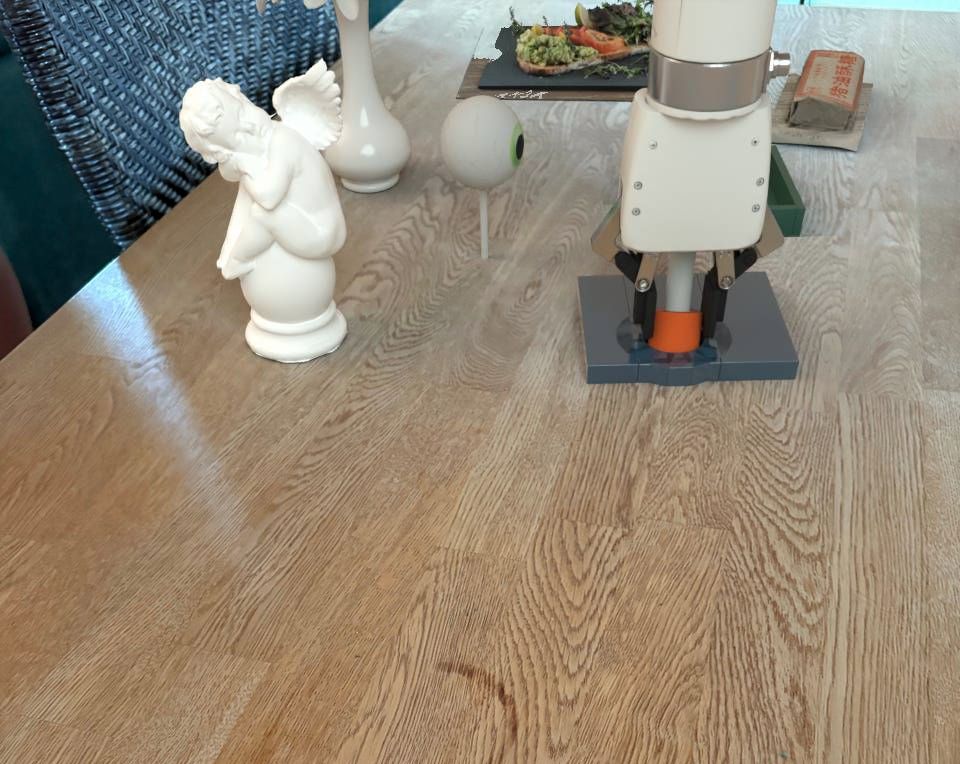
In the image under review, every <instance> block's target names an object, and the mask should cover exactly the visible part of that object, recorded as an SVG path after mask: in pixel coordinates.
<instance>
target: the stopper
mask: <svg viewBox="0 0 960 764" xmlns="http://www.w3.org/2000/svg"><path fill="white" fill-rule="evenodd" d="M696 255H697V252H679V253H668V263H667V272H666V274H667V283H666V293H665V303H664V310H656V313H655V323H654V333H653V338H651V339H650V340H648V343H647V344H648V345H649V346H651V347H653V348H655V349H658V350H660V351H665V352H670V353H674V352H688V351H691V350H695V349H696V348H698V347H699V342H700V333H701V324H702V315H703V313H702V312H695V311H690V304H691V295H692V285H693V276H694V273H695V267H696V266H695V265H696Z"/></svg>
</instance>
